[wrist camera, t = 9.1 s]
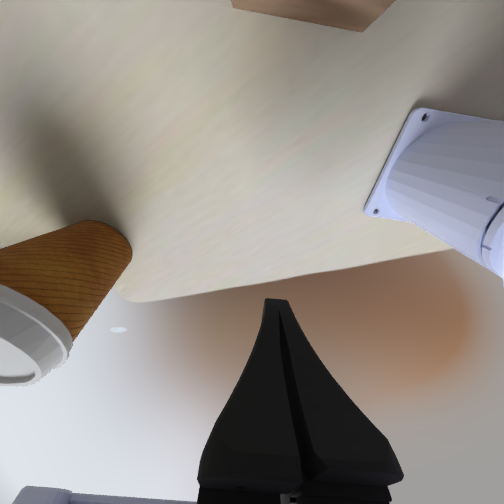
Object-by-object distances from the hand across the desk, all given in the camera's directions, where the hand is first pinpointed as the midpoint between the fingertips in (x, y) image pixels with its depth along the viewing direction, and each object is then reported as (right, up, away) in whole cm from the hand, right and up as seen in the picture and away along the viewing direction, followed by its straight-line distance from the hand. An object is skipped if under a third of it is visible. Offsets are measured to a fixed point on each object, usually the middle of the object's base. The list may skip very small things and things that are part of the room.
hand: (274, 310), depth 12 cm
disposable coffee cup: (-18, +4, +9) cm, 21 cm away
